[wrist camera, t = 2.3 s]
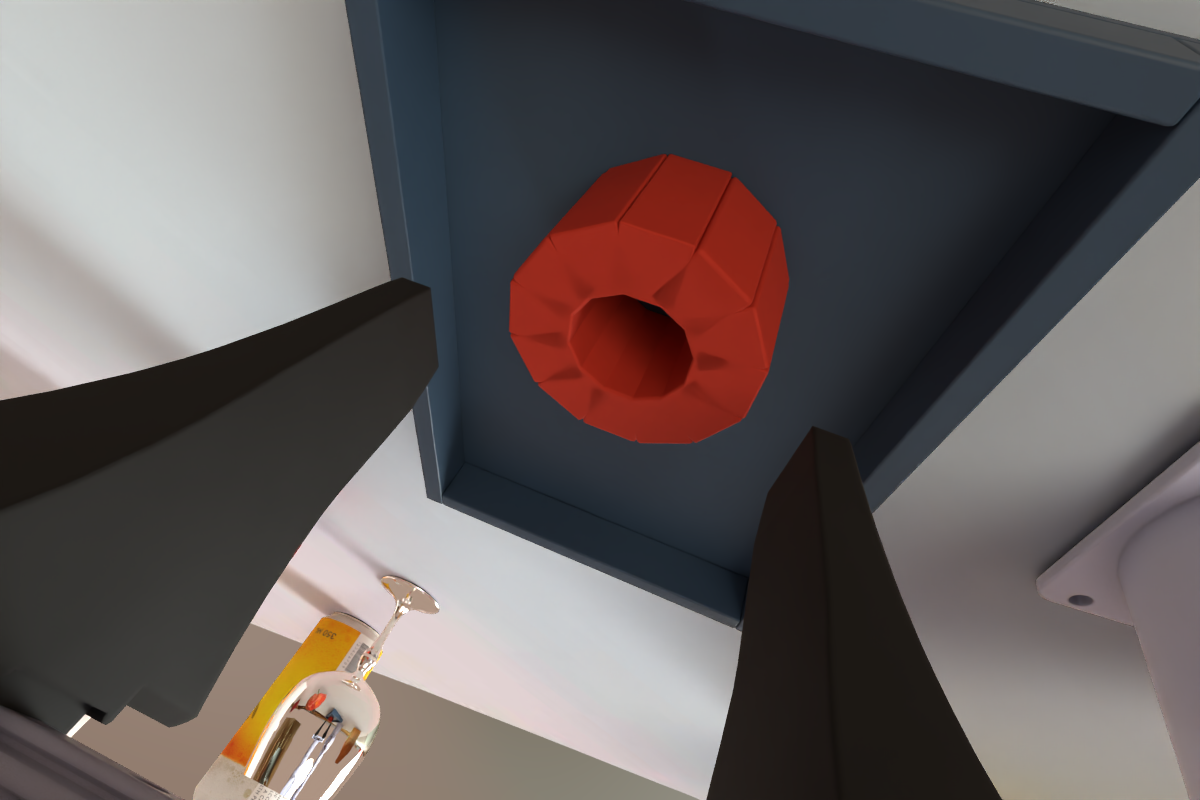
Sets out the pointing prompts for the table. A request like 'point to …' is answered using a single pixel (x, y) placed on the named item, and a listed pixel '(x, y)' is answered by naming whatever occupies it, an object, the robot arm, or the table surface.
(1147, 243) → the table surface
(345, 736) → the wineglass
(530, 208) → the tray
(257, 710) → the beer can
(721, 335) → the ring
